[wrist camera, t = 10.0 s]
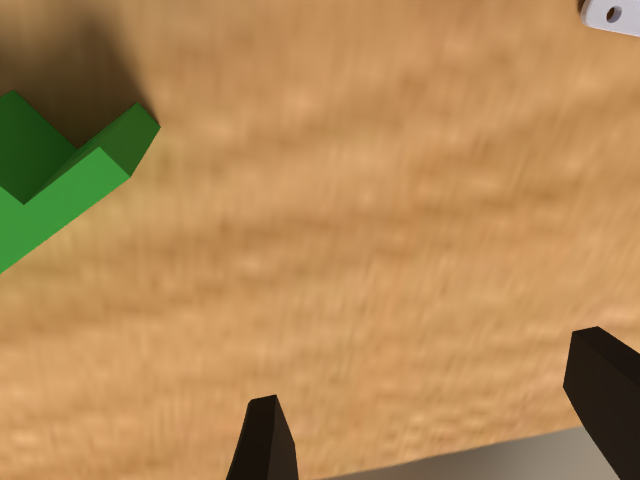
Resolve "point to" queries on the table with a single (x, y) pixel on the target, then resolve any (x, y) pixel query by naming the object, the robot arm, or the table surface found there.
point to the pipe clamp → (58, 172)
